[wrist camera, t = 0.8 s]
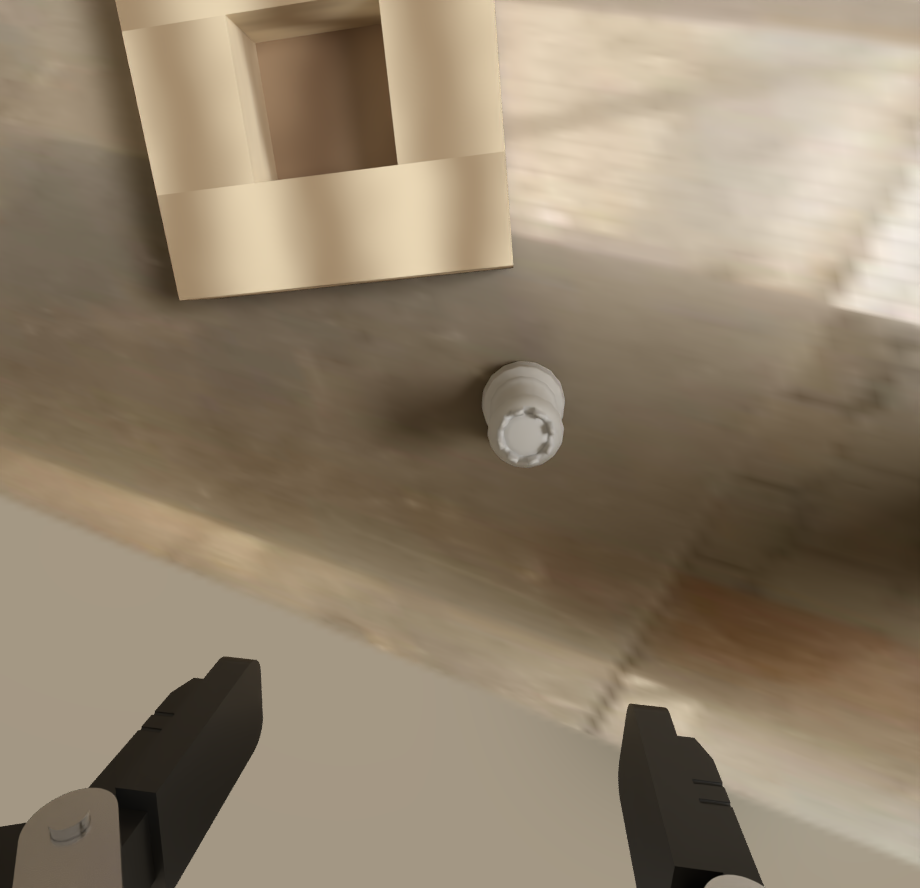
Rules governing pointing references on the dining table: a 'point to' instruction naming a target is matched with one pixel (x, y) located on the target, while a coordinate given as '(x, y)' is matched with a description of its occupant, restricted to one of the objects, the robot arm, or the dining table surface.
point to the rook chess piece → (524, 413)
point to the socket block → (321, 139)
